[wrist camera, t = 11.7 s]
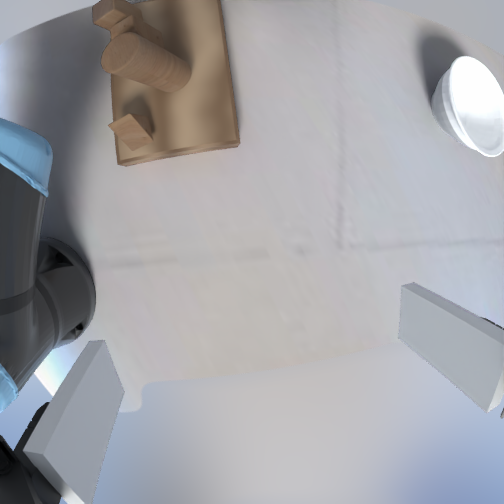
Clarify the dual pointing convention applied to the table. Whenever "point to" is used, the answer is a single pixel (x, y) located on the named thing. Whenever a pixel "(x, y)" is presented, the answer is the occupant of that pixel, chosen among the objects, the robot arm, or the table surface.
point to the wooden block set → (137, 62)
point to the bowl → (470, 106)
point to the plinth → (191, 95)
